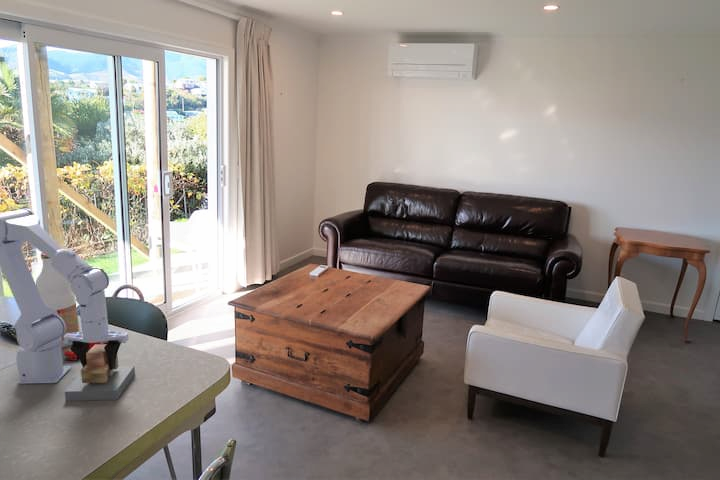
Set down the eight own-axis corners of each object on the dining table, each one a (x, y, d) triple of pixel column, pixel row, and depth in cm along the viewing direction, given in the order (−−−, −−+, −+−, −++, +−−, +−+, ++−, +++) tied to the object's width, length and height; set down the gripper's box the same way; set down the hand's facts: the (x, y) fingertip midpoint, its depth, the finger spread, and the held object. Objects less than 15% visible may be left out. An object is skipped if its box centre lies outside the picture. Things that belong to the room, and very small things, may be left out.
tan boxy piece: (82, 383, 120) (80, 370, 119) (96, 367, 127) (95, 355, 126) (105, 382, 120) (104, 369, 119) (118, 366, 128) (117, 354, 127)
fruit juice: (83, 343, 147) (72, 254, 140) (46, 352, 141) (33, 259, 134) (77, 332, 154) (66, 246, 147) (42, 340, 148) (29, 251, 141)
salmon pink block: (87, 366, 121) (85, 353, 120) (96, 357, 125) (95, 344, 125) (104, 366, 121) (102, 353, 120) (112, 356, 126) (111, 344, 125)
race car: (72, 364, 136) (70, 351, 134) (60, 359, 138) (58, 346, 137) (115, 345, 147) (113, 333, 146) (103, 341, 149) (101, 329, 148)
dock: (65, 400, 118) (64, 391, 117) (88, 375, 130) (87, 366, 129) (117, 399, 119) (116, 390, 118) (135, 374, 131) (134, 365, 130)
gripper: (130, 311, 124) (135, 359, 127) (71, 311, 123) (77, 360, 126) (120, 322, 117) (125, 373, 121) (56, 323, 116) (63, 374, 119)
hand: (99, 368), depth 123 cm, fingers closed on tan boxy piece, 5 cm apart
